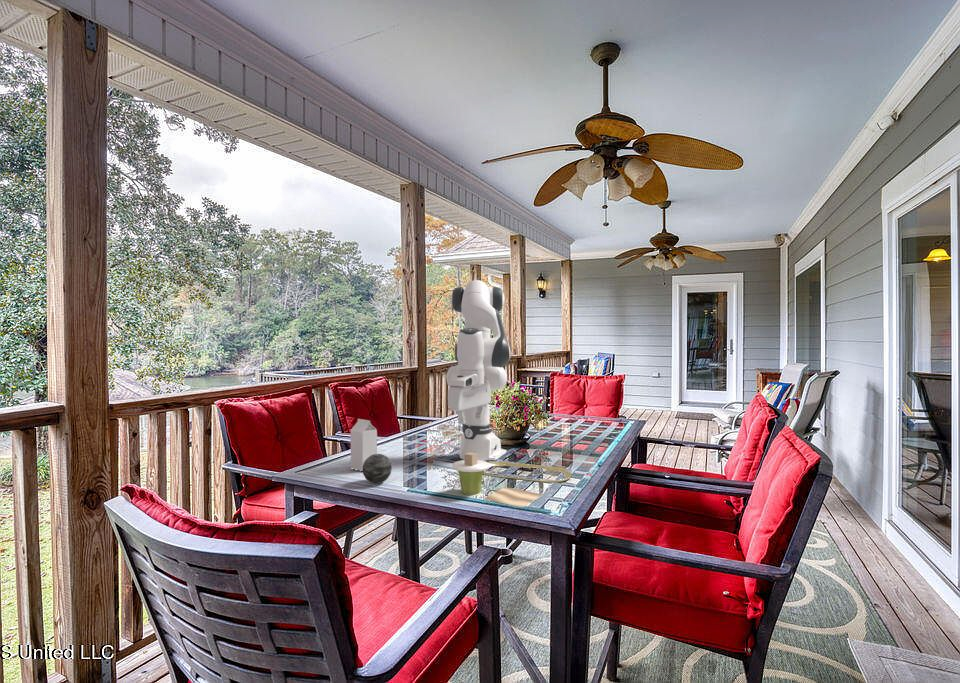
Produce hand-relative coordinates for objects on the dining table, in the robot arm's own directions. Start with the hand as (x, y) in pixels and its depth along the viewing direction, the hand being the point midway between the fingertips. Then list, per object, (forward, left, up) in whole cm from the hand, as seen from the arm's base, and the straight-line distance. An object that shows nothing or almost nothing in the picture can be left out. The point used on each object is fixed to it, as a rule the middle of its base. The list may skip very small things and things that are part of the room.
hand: (470, 421), depth 158 cm
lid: (0, 0, -15) cm, 15 cm away
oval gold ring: (-29, +4, -24) cm, 38 cm away
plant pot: (0, 0, -24) cm, 24 cm away
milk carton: (-2, -51, -24) cm, 56 cm away
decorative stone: (+8, -34, -24) cm, 42 cm away
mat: (-3, +14, -24) cm, 28 cm away
